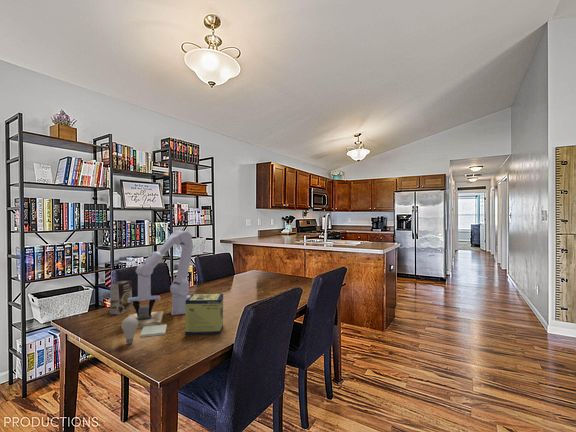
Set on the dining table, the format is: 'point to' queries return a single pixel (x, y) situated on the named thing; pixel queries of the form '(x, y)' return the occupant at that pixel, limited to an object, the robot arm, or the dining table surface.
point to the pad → (153, 330)
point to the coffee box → (120, 297)
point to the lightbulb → (129, 328)
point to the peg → (144, 312)
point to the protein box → (204, 314)
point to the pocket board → (153, 321)
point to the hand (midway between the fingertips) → (144, 315)
